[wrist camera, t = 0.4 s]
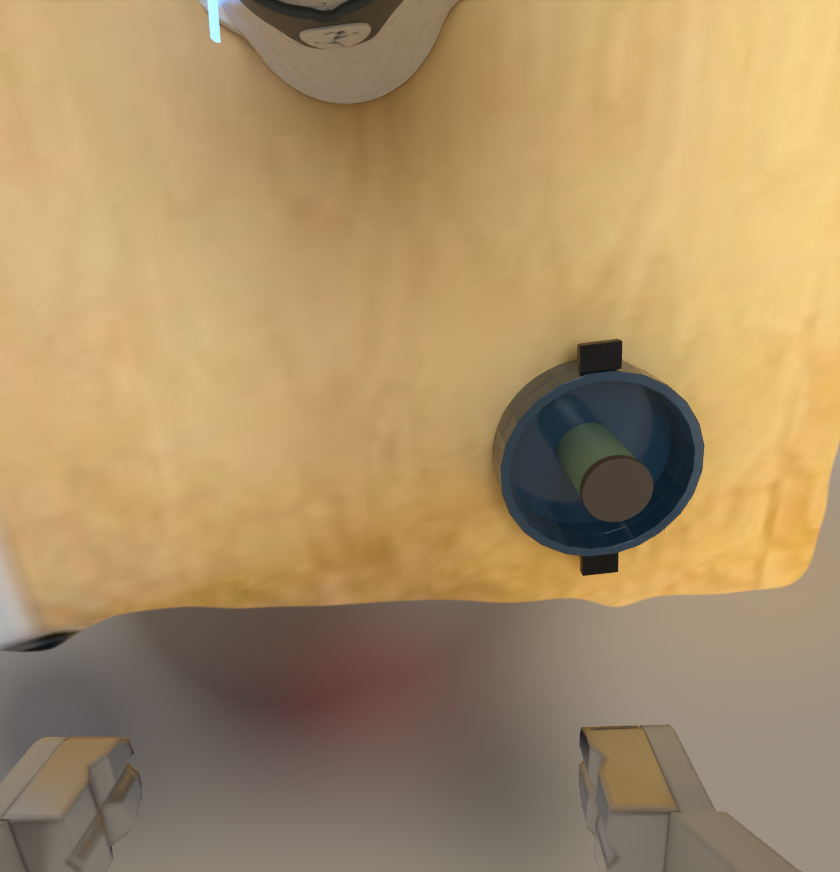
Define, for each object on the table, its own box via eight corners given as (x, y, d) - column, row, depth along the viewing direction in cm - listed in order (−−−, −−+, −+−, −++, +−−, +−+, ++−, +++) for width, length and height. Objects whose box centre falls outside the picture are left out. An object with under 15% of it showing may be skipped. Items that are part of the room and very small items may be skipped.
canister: (555, 425, 49) (581, 463, 41) (617, 417, 49) (655, 454, 41) (556, 480, 51) (582, 525, 43) (616, 473, 51) (652, 518, 43)
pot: (486, 370, 47) (494, 385, 43) (684, 346, 47) (711, 359, 42) (499, 538, 53) (507, 565, 49) (673, 518, 53) (696, 544, 49)
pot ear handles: (577, 343, 43) (580, 345, 42) (618, 338, 43) (622, 340, 42) (579, 570, 51) (582, 576, 50) (615, 566, 51) (618, 572, 50)
